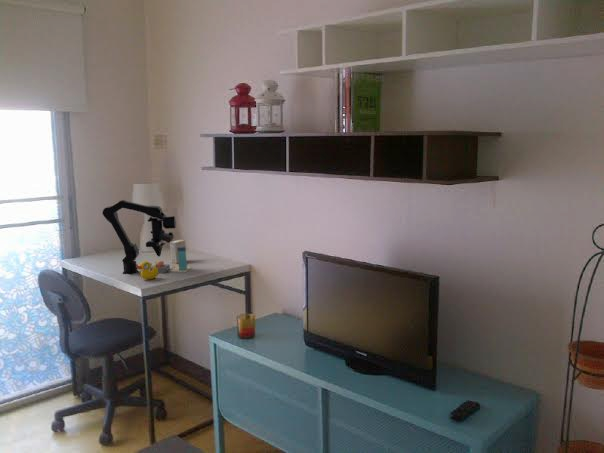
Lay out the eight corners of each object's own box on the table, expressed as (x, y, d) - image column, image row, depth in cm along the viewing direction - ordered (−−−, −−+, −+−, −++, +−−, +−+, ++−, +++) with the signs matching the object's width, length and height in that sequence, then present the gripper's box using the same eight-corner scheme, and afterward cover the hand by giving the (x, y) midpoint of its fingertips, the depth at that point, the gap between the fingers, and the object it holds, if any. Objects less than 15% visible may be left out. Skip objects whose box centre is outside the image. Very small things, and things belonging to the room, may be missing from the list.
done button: (154, 268, 309) (154, 262, 309) (158, 266, 313) (157, 260, 313) (162, 268, 308) (161, 262, 308) (165, 266, 313) (164, 260, 312)
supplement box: (181, 260, 337) (180, 239, 335) (186, 261, 334) (185, 240, 332) (170, 263, 330) (169, 241, 328) (176, 264, 327) (175, 242, 325)
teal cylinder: (178, 270, 311) (177, 247, 308) (179, 268, 315) (178, 246, 312) (186, 270, 311) (185, 247, 309) (187, 268, 315) (185, 245, 313)
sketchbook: (167, 271, 309) (166, 271, 309) (174, 267, 319) (174, 266, 319) (185, 272, 307) (185, 271, 307) (192, 267, 317) (192, 267, 317)
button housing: (150, 272, 308) (150, 267, 308) (156, 269, 316) (156, 264, 315) (163, 273, 307) (163, 267, 306) (169, 269, 314) (169, 264, 314)
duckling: (139, 282, 289) (137, 263, 287) (135, 280, 293) (134, 261, 292) (160, 278, 295) (158, 260, 293) (156, 276, 299) (155, 258, 298)
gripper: (163, 232, 297) (165, 260, 299) (177, 226, 315) (179, 253, 317) (144, 232, 299) (146, 260, 301) (159, 226, 317) (160, 252, 319)
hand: (159, 256), depth 310 cm, fingers closed
